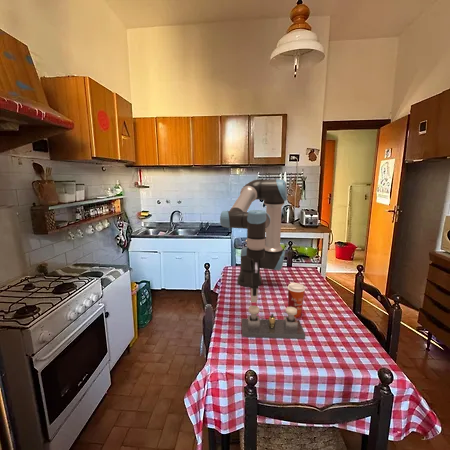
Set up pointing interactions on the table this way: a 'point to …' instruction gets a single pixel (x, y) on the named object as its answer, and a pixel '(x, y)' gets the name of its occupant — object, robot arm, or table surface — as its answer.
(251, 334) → the panel
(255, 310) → the knob
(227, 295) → the table surface
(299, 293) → the coffee cup
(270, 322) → the potentiometer
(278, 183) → the robot arm
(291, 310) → the knob
